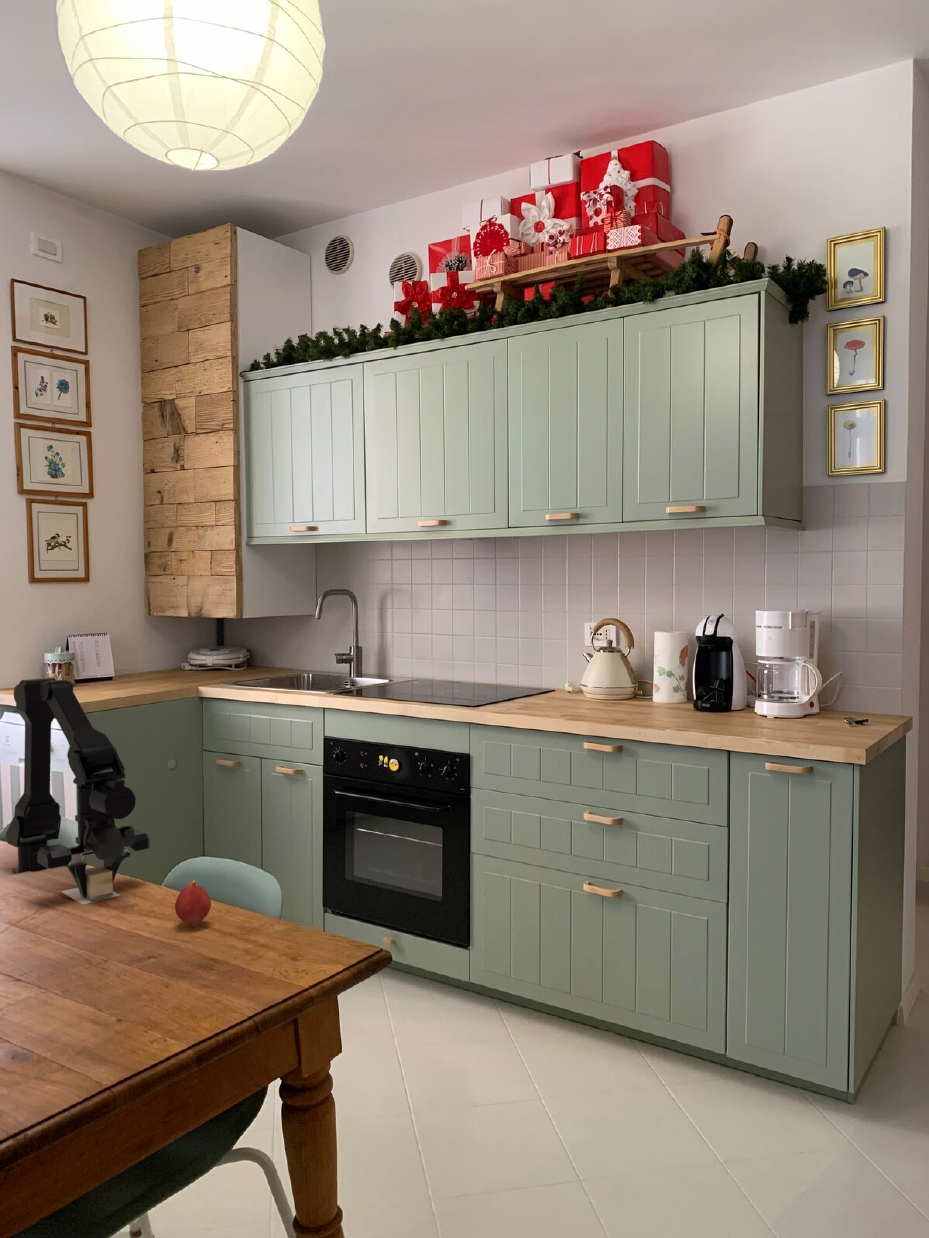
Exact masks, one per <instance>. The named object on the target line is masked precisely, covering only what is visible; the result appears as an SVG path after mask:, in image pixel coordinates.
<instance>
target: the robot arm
mask: <svg viewBox="0 0 929 1238" xmlns="http://www.w3.org/2000/svg"><path fill="white" fill-rule="evenodd" d="M13 699H14V702H15V708H16V711H17V712H18V714H19V716H20V717H21V718H22V720H23V721H24V769H23V772H24V773H23V775H24V776H23V780H24V781H23V794H22V795H21V797H20V798H19V799H18V801H17V803H16V805H15V806H14V815H13V818H12V820H11V822H10V823H9V825H8V828H7V829H6V832H5V836H6V843H7V844H8V845H10V846H12V847H15V848H17V867H13V868H11V871H12V872H13V873H14V874H16V873H17V874H16V875H18V874H23V873H29V872H30V873H31V872H32V873H36V872H41V871H45V870H48V869H52V870H53V869H58V868H62V867H66V868H67V870H69V873H70V874H71V876H72V878H73V881H74V882H75V884H76V886H77V887H76V888H78V889H79V891H80V893H81V895H82V897H84V898H86V895H87V887H86V876H85V869H87V865H88V863H87V862H85V861H84V860H83V859H84V858H83V857H84V856H87V855H92V854H94V855H95V857H96V859H98V860H101V861H103V867H105V868H107V869H109V870H111V871H112V880H113V883H114V881H115V878H116V875H117V873H118V870H119V868H120V866H121V864H122V862H123V861H124V860H125V859H127V858H129V857H131V855H132V853H131V852H128V849H129V848H130V849H131V850H132V851H134V852H138V851H139V852H140V851H144V850H147V849H150V848H151V842H150V841H151V839H150V836H149V835H148V833H147V832H144V831H142V830H139V829H137V828H135V827H133V826H132V825H131V824H130V825H125V826H121V827H116V824H115V823H116V822H115V820H121V819H125V818H127V817H128V816H130V814H131V813H132V812H133V811H134V809H135V806H136V801H137V799H136V796H135V793H134V792H133V791H132V790H133V789H130V788H129V787H127V786H125V783H126V782H125V778H126V774H125V769H126V768H125V767H124V764H123V762H122V760H121V758H120V756H119V754H118V752H117V749H116V747H115V746H114V744H113V743H112V742H111V740H110V739H109V738H108V736H107V735H106V734H105V733H102V732H101V731H99V730H97V729H95V728H94V727H93V725H92V723H91V722H90V720H89V718H88V716H87V714H86V713H85V710H84V709H83V707H82V705H81V703H80V702H79V700H78V698H77V696H76V695H75V692H74V685H73V683H72V682H71V680H67V679H57V680H56V678H55V677H43V678H32V679H30V678H29V679H21V680H20V681H19V682H18V684H16V686H15V687H14V689H13ZM54 719H55V720H56V722H57V723H58V725H59V727H60V729H61V731H62V733H63V735H64V736H65V738H66V741H67V743H68V745H69V747H68V751H67V753H66V754H67V755H66V757H67V759H68V765H69V768H70V769H71V771H72V773H73V775H74V778H73V780H72V781H73V784H75V785H76V802H77V803H76V807H77V808H76V809H77V814H75V815H74V821H75V822H77V836H76V837H75V844H77V845H76V846H70V847H68V846H66V845H64V844H62V843H57V844H52V845H49V841H52V840H58V839H59V836H60V830H61V824H62V816H61V813H60V812H61V811H60V809H61V806H60V803H59V802H57V801H56V800H55V798H54V797H53V795H52V794H51V757H52V756H51V750H52V748H51V747H52V746H51V745H52V723H53V721H54Z"/></svg>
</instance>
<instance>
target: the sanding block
mask: <svg viewBox="0 0 929 1238" xmlns="http://www.w3.org/2000/svg"><path fill="white" fill-rule="evenodd" d="M85 876H86V887H87V895H86V898H87V899H89V900H91V901H92V900H97V899H101V898H105V897H109V896H113V891H114V888H113V887H114V886H113V884H114V882H113V880H112V871H111V870H109V869H107V868H105V867H104V865H98V866H94V867H90V868H86V869H85ZM80 895H81V893H80Z"/></svg>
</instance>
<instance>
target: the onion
mask: <svg viewBox="0 0 929 1238" xmlns="http://www.w3.org/2000/svg"><path fill="white" fill-rule="evenodd" d="M211 906H212V901H211V897H210V895H209V894H208V892H207V890H206V889H204V888H203V887H201V886H200V885H198V884H197V881H196V880H191V882H190V883H189V884H188V885H187V886H185V888H183V889H182V890H181V891H180V893H179V894H178V895H177V898H176V900H175V904H174V911H175V914H176V915H177V918H179V919H180V921H182V922H183V923H185V924H186V925H188V926H190V927H191V928H195V927H196V928H197V927H198V925H199V924H201V923H202V921H203V920H204V919H206V918H207V916H208V914H209V912H210V911H211Z"/></svg>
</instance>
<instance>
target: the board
mask: <svg viewBox="0 0 929 1238" xmlns="http://www.w3.org/2000/svg"><path fill="white" fill-rule="evenodd" d="M61 893H63V894H65V895H66V896H67V897H70V898H71V899H73V900H74V901H76V902H78V903H80V905H81V904H82V905H86V904H91V903H95V902H98V901H102V900H106V899H110V898H111V899H112V898H115V897H118V896H121V894H119V893H117V892H116V891H114V890H113V896H109V897H105V898H101V899H97V900H92V901H91V900H89V899H87V898H84V897H82V895H80V891H79V889H78V887H75V888H69V889H65V890H61Z"/></svg>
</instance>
